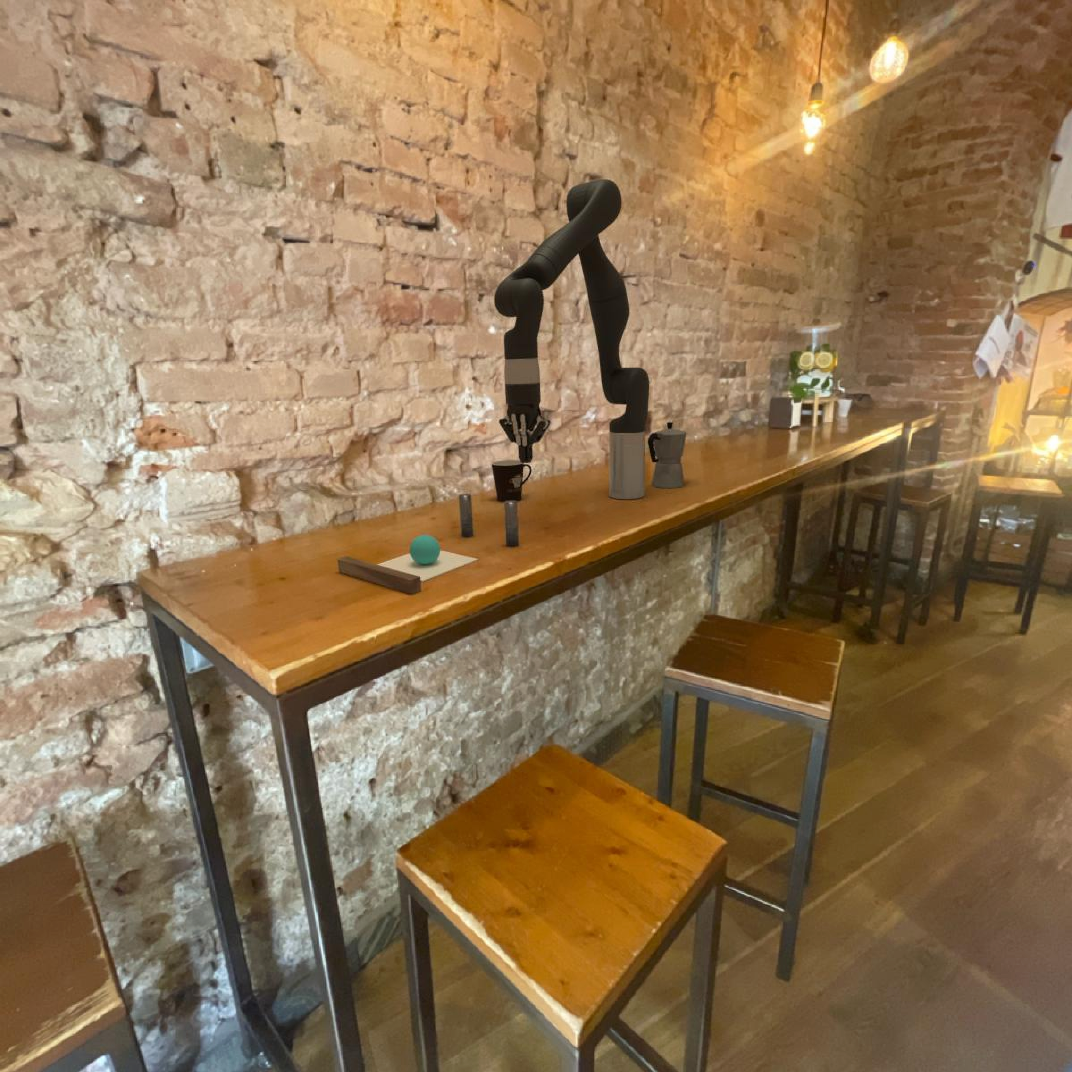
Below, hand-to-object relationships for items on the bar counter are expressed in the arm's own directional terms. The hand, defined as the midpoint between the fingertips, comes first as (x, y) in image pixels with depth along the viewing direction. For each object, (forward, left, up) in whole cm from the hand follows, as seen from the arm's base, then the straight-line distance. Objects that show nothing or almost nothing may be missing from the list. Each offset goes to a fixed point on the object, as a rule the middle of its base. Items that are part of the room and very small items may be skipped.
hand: (525, 462), depth 135 cm
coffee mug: (-19, -20, -15) cm, 31 cm away
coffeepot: (-54, +7, -15) cm, 57 cm away
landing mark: (+31, 0, -15) cm, 34 cm away
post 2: (+13, +6, -15) cm, 21 cm away
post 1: (+13, -6, -15) cm, 21 cm away
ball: (+31, 0, -12) cm, 33 cm away
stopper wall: (+42, 0, -15) cm, 45 cm away
